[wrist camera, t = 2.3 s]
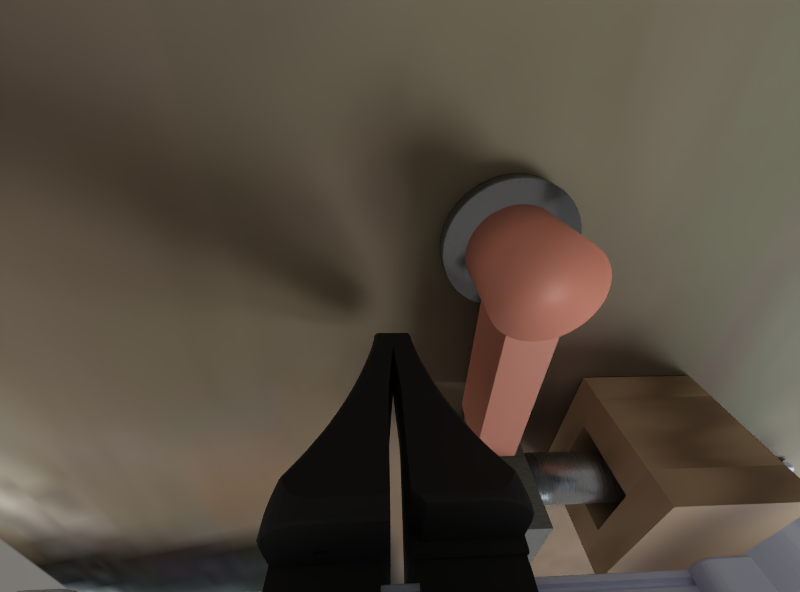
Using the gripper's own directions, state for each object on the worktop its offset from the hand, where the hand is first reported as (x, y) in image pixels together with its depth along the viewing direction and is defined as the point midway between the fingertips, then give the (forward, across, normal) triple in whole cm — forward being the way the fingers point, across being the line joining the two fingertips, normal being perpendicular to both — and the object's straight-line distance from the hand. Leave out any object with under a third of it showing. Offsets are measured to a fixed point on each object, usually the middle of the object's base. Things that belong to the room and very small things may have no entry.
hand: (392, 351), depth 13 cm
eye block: (+2, -14, +8) cm, 16 cm away
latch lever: (+1, -5, -1) cm, 5 cm away
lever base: (+2, -5, -4) cm, 6 cm away
